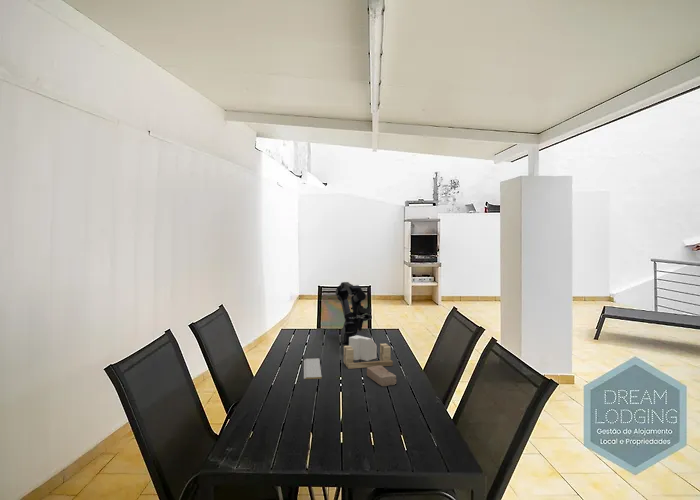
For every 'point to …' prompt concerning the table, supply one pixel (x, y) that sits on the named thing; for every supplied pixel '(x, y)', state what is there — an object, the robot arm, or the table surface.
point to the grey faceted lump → (363, 348)
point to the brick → (381, 375)
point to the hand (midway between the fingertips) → (360, 330)
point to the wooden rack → (384, 357)
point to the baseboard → (312, 369)
